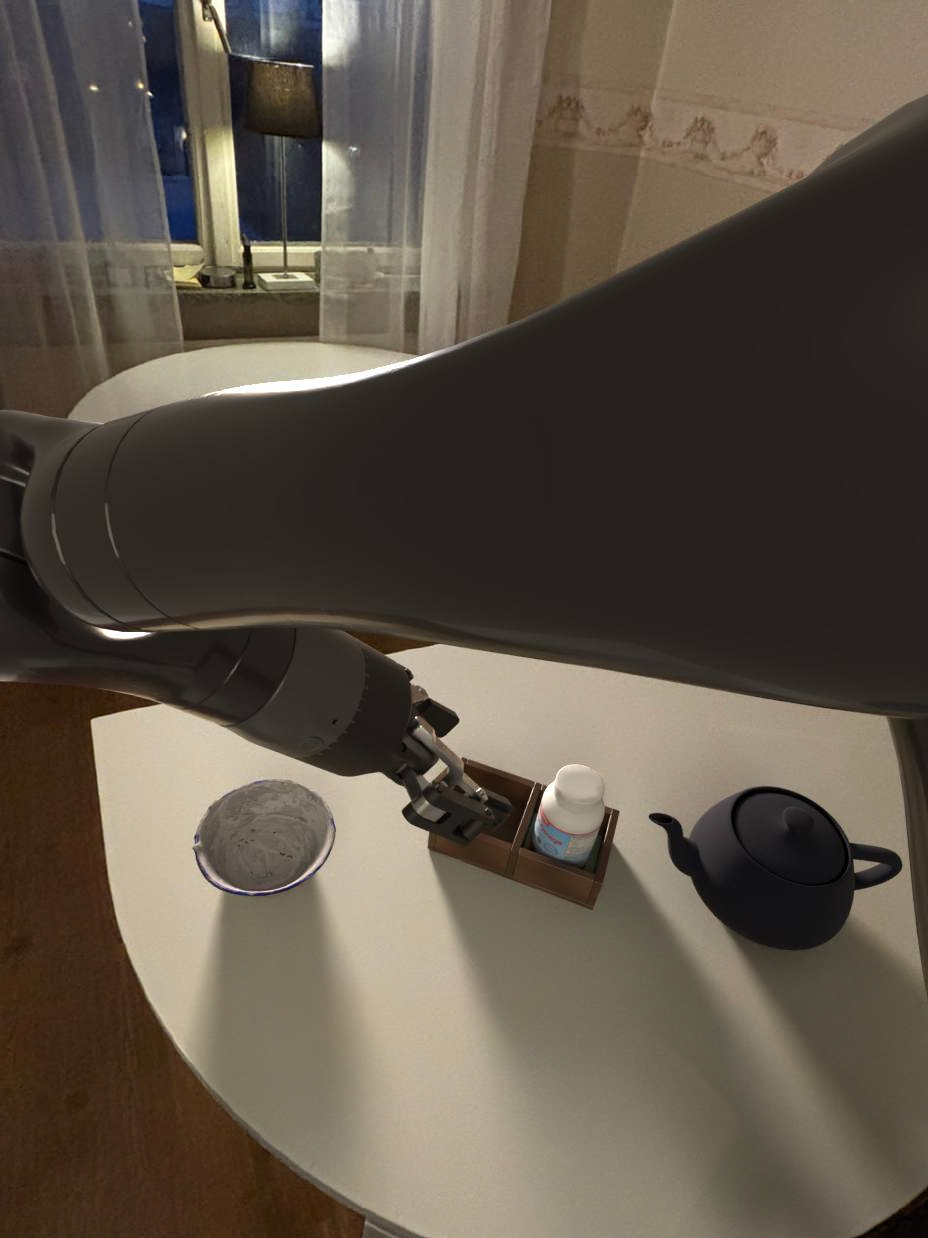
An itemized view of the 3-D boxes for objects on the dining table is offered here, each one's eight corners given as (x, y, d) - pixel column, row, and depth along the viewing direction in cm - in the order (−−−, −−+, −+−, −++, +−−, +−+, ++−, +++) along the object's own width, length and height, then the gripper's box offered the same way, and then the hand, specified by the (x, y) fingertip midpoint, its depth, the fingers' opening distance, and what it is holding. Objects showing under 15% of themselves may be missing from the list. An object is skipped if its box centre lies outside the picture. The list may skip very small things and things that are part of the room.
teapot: (842, 839, 81) (893, 767, 74) (897, 981, 69) (964, 911, 61) (618, 811, 81) (645, 736, 74) (632, 948, 69) (667, 874, 61)
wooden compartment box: (610, 837, 79) (619, 810, 76) (592, 910, 72) (602, 884, 69) (457, 783, 82) (461, 756, 79) (427, 848, 75) (430, 821, 72)
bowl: (231, 949, 65) (225, 920, 62) (180, 844, 73) (172, 813, 70) (359, 878, 72) (359, 849, 69) (300, 788, 80) (298, 759, 77)
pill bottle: (519, 835, 77) (536, 765, 70) (571, 821, 79) (593, 751, 72) (544, 886, 72) (565, 816, 65) (598, 870, 74) (624, 801, 67)
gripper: (405, 736, 35) (564, 811, 47) (319, 572, 45) (468, 668, 57) (301, 836, 37) (481, 885, 48) (239, 655, 46) (401, 732, 58)
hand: (474, 768), depth 52 cm, fingers open, 8 cm apart
